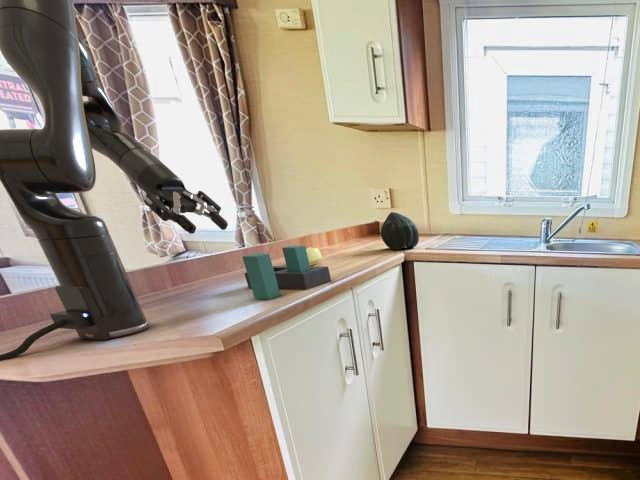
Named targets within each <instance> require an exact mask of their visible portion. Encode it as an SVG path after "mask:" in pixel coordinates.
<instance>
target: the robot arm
mask: <svg viewBox="0 0 640 480" xmlns="http://www.w3.org/2000/svg"><path fill="white" fill-rule="evenodd" d="M74 2H75V0H0V53H1V55H2V56H3V58H4V60H5V61H6V62H7V64H8V65H9V66H10V68H11V69H12V70H13V72H15V73H16V75H17V76H18V77H19V78H20V79H21V80H22V81H23V83H25V84H26V85H27V86H28V87H29V88H30V90H31V91H32V92H33V93H34V94H35V95H36V97H37V98H38V99H39V101H40V102H41V104H42V108H43V109H42V110H43V113H44V126H43V127H42V128H29V129H28V128H11V129H8V128H7V129H6V128H5V129H4V128H3V129H0V184H1V185H2V186H3V188H4V189H5V192H6V193H7V195H8V196H9V198H10V200H11V202H12V204H13V206H14V207H15V209H16V211H17V213H18V214H19V216H20V217H21V219H22V220H23V222H24V223H25V224H26V226H28V227H29V229H30V230H31V231H32V232H33V234H34V236H35V238H36V239H37V242H38V244H39V246H40V248H41V250H42V252H43V254H44V256H45V258H46V260H47V262H48V264H49V266H50V268H51V270H52V272H53V274H54V276H55V278H56V280H57V282H58V284H59V285H56V286H55V287H54V290H55V292H56V294H57V296H58V298H59V300H60V302H61V304H62V306H63V308H64V310H61V311H58V312H53V313H50V314H49V316H50V317H51V319H52V322H53V323H51V324H49V325H47V326H44V327H42V328H39V330H37V331H35V332H33V333H31V334H30V335H29V336H28V337H27V338H25V339H24V341H22V343H21V344H20V345H19V346H17V348H15V349H12V350H10V351H8V352H5V353H1V354H0V362H1V361H6V360H9V359H13V358H16V357H17V356H20V355H22V354H23V353H26V351H27V350H29V349H30V348H31V346H32V345H33V344H34V343H35V342H36V341H38V340H39V339H40V338H42V337H44V336H45V335H48V334H49V333H52V332H53V331H55V330H59V329H62V330H63V329H66V330H75V331H76V334H77V335H78V338H79V339H81V340H94V341H95V340H97V341H98V340H99V341H106V340H110V339H114V338H119V337H125V336H128V335H133V334H137V333H139V332H142V331H144V330H146V329H148V328H149V327H150V324H149V320H148V319H147V318H146V316H145V313H144V310H143V308H142V306H141V303H140V302H139V299H138V297H137V294H136V291H135V290H134V287H133V285H132V283H131V280H130V279H129V276H128V274H127V271H126V269H125V266H124V264H123V262H122V259H121V257H120V255H119V252H118V249H117V247H116V245H115V242H114V240H113V238H112V235H111V234H110V231H109V228H108V226H107V224H106V222H105V221H104V220H103V219H102V218H101V217H99V216H96V215H92V214H88V213H84V212H82V211H81V212H80V211H77V210H75V209H74V208H71V207H70V206H67V205H65V203H64V202H62V201H61V199H60V198H59V196H58V195H63V194H64V195H65V194H81V193H87V192H89V191H91V190H93V189H94V187H95V185H96V181H97V170H96V169H97V168H96V164H95V158H94V153H93V150H94V151H95V152H97V153H99V154H101V155H102V156H104V157H106V158H108V159H109V160H110V161H111V162H113V164H115V165H116V166H117V167H118V168H119V169H120V170H121V171H122V172H123V173H124V174H125V175H126V176H127V177H128V178H129V180H131V181H132V182H133V183H134V184H135V185H136V186H137V187H138V188H139V189H141V190H142V191H143V192H144V194H145V197H144V200H143V203H144V204H145V205H146V206H147V207H148V208H149V209H150V210H151V211H152V212H153V213H154V214H155V215H157V217H159V218H160V219H161V221H164V222H168V221H171V222H172V223H176V224H177V225H178V226H179V227H181V228H182V229H183V230H184V231H186V232H187V233H188V234H190V235H192V234H195V233H196V230H197V226H196V225H195V224H194V223H193V222H192V221H191V220H190V219H189V218H188V217H186V216H185V215H184V214H186V213H191V214H192V213H194V214H196V215H198V216H204V217H206V218H208V219H209V220H211V222H212V223H214V224H215V225H216V226H217V227H218V228H219V229H221V230H222V231H225V230H227V228H228V226H229V223H228V221H227V220H226V219H225V218H224V217H223V216H222V215H220V213H221V211H222V207H221V206H220V205H219V204H218V203H216V201H214V200H213V199H212V198H211V197H210V196H208V195H207V194H206V193H205V192H204V191H202V190H198V192H197V193H193V192H191V191H190V190H188V189H186V186H185V184H184V182H183V180H182V179H181V178H180V177H179V176H177V174H175V173H174V172H173V171H172V170H171V169H170V168H169V167H168V166H167V165H166V164H164V163H163V162H162V161H161V160H160V158H158V157H156V156H155V155H154V154H153V153H151V152H150V151H149V150H148V149H146V147H144V146H143V144H141V143H140V142H139V141H138V140H137V139H135V138H134V137H133V135H130V134H129V133H126V132H123V129H124V124H123V120H122V118H121V116H120V114H119V113H118V111H117V110H116V108H115V107H114V105H113V104H112V103H111V101H110V100H109V98H108V96H107V94H106V92H105V91H104V89H103V87H102V85H101V84H100V81H99V77H98V75H97V72H96V69H95V66H94V63H93V60H92V57H91V54H90V52H89V49H88V47H87V45H86V44H85V42H84V40H83V39H82V37H81V36H80V35H79V34H78V29H77V23H76V15H75V13H76V12H75V3H74ZM84 97H87V99H88V100H84ZM198 205H199V206H200V207H199V209H197V207H198ZM205 210H206V211H205Z"/></svg>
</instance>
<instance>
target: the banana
mask: <svg viewBox="0 0 640 480" xmlns="http://www.w3.org/2000/svg"><path fill="white" fill-rule="evenodd" d="M306 252H307V256H308V260H309V264H310V266H313V265H316V264H318V263H319V262H320V261H321V260H322V258H323V255H322V254H321V251H320V250H319V248H318V247H307V248H306ZM279 266H287V265H286V263H284V264H282V265H281V264H280V265H279Z"/></svg>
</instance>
